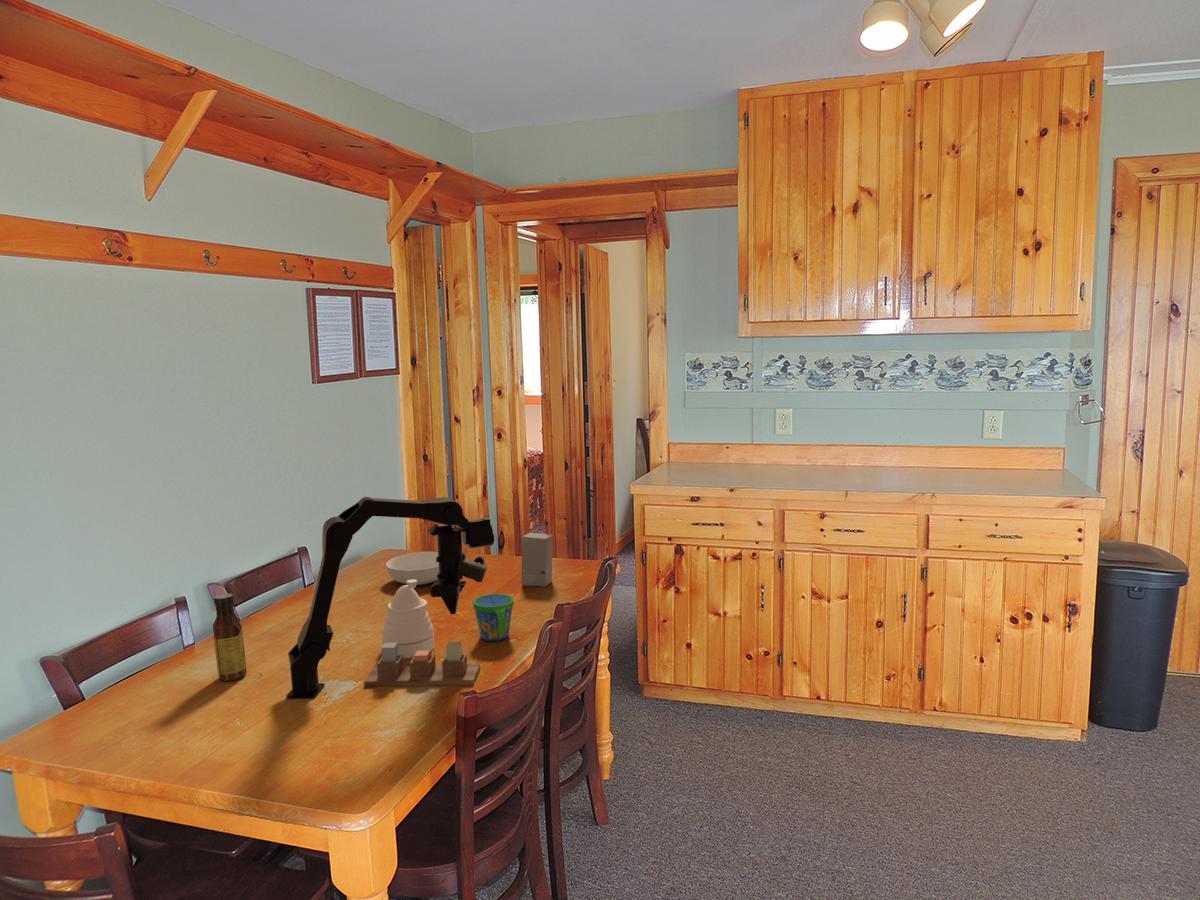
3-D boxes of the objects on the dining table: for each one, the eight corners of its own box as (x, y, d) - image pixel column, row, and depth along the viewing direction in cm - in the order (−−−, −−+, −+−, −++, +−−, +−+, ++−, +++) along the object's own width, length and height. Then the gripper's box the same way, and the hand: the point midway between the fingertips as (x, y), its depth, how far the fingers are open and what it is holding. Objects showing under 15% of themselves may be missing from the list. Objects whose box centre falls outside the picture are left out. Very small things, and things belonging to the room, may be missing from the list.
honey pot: (443, 641, 212) (439, 574, 209) (419, 660, 199) (415, 589, 197) (399, 637, 215) (395, 571, 213) (373, 656, 203) (368, 586, 200)
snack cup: (520, 644, 208) (519, 606, 206) (479, 650, 205) (477, 611, 203) (509, 624, 223) (507, 588, 221) (470, 629, 220) (468, 593, 218)
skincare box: (521, 585, 257) (519, 537, 255) (529, 579, 264) (528, 531, 261) (546, 587, 254) (544, 538, 252) (554, 580, 261) (552, 532, 259)
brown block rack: (473, 685, 184) (472, 665, 184) (364, 686, 185) (363, 667, 184) (480, 668, 193) (479, 650, 193) (375, 670, 194) (374, 651, 193)
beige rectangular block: (460, 666, 187) (459, 646, 186) (447, 666, 187) (446, 646, 186) (462, 661, 190) (461, 641, 189) (449, 661, 190) (448, 641, 189)
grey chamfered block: (395, 667, 187) (394, 647, 187) (382, 667, 188) (381, 647, 187) (398, 662, 190) (397, 642, 190) (386, 662, 190) (384, 642, 190)
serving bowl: (385, 575, 272) (384, 555, 271) (448, 568, 278) (447, 549, 277) (388, 594, 252) (387, 572, 251) (456, 586, 258) (455, 565, 257)
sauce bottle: (252, 674, 193) (245, 594, 190) (229, 684, 188) (221, 601, 185) (235, 669, 197) (228, 590, 194) (211, 678, 191) (203, 597, 188)
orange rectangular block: (428, 675, 188) (427, 655, 187) (415, 675, 188) (414, 655, 187) (431, 669, 191) (429, 650, 190) (418, 670, 191) (417, 650, 190)
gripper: (477, 561, 184) (480, 627, 186) (489, 540, 202) (492, 600, 204) (428, 562, 184) (431, 628, 186) (445, 541, 202) (448, 601, 205)
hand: (453, 613), depth 195 cm, fingers closed
